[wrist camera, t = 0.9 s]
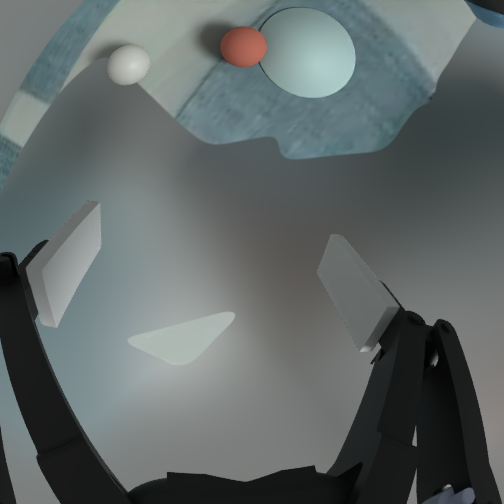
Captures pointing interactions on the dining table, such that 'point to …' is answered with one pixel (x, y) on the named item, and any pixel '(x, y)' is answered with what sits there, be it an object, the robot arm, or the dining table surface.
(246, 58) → the object ball
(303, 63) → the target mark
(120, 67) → the cue ball
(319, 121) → the dining table surface
